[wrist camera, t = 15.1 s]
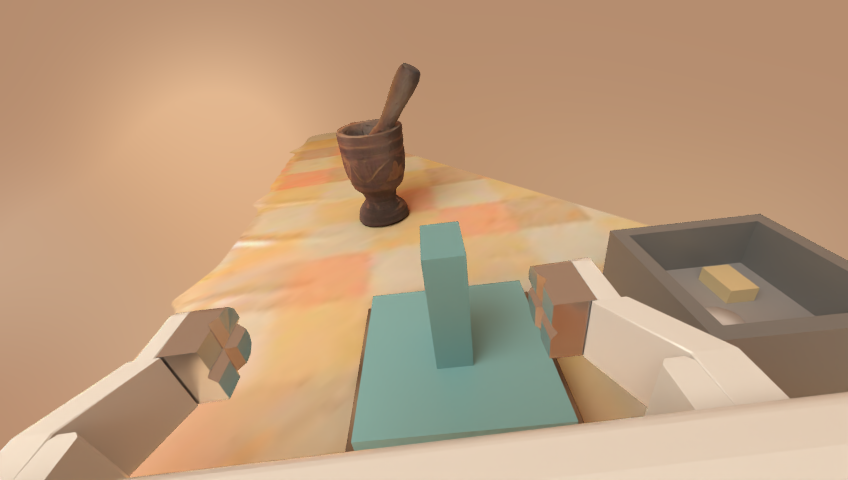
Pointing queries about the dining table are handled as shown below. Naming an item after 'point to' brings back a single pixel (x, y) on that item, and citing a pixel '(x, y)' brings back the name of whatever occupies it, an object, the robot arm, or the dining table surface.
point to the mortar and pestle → (380, 154)
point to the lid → (454, 358)
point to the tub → (745, 293)
